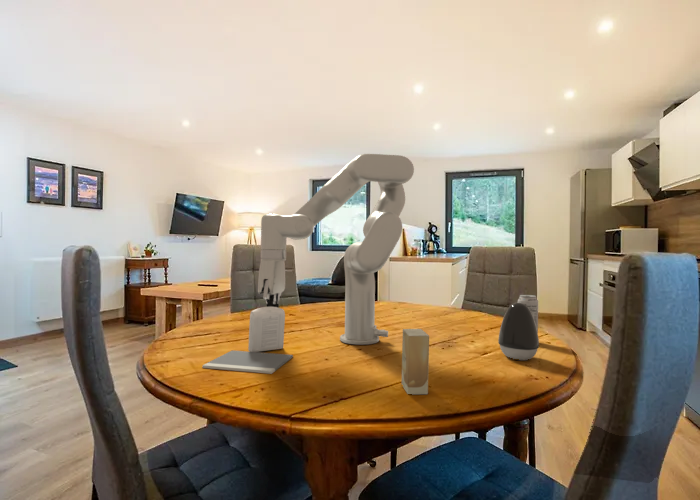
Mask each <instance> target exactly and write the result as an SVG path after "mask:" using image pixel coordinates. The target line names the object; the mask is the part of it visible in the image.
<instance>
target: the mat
mask: <svg viewBox="0 0 700 500" xmlns="http://www.w3.org/2000/svg"><path fill="white" fill-rule="evenodd" d="M293 358H294V355H293V354H286V353H271V352H261V351H260V352H250V351H244V350H230V351H228V352H226V353H224V354H222V355H220V356H218V357H216V358H214V359H212V360H210V361H208V362H206V363H204V364H202V369H211V370H223V371H224V370H225V371H226V370H227V371H236V372H248V373H261V374H269V375H270V374H271V375H272V374H274V372H276V371H277V370H279V369H280V368H281V367H282V366H283V365H285V364H286V363H288V361H290V360H291V359H293Z"/></svg>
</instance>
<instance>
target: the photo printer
mask: <svg viewBox="0 0 700 500" xmlns="http://www.w3.org/2000/svg"><path fill="white" fill-rule="evenodd" d="M285 319H286V313H285V310H284V309H283V308H280V307H279V308H278V307H267V306H263V307H258V308H256V309H253V310H251V311H250V314H249V326H248V327H249V330H248V331H249V332H248V346H247V347H248V348H247V349H248V352H260V353H261V352H266V351H274V350H280V349H281V350H282V349H283V348H284V341H285V323H286V322H285V321H286V320H285Z"/></svg>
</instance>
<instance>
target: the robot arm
mask: <svg viewBox="0 0 700 500" xmlns="http://www.w3.org/2000/svg"><path fill="white" fill-rule="evenodd" d="M414 167H415V166H414V164H413V162H412V161H411V160H410V159H409V157H407V156H405V155H404V156H403V155H399V154H398V155H397V154H381V153H379V154H378V153H363V154H359V155H357V156H356V157H354V158H352V160H351V161H349V162H348V163H347V164H346V165H345V166H344V167H343V168H342V169H340V170H339V172H337V173H336V174H334V176H333V177H331V179H329V180H328V181H327V182H326V183H324V185H322V187H320V189H319V190H317V191H316V193H315V194H314V195H313V196H312V197H311V198H310V199H309V200H308V201H307V202H306V203H304V205H302V206H301V207H300V208H299V209H298V210H297V211H296V212H295V213H294V214H291V215H283V214H277V213H273V214H272V213H269V214H268V213H267V214H263V216H261V221H260V224H261V225H260V227H261V228H260V229H261V230H260V263H259V269H258V279H257V293H258V294H259V295H263V296H262V298H263V300H265V303H266V307H278V308H280V307H279V303H280V297H281V296H282V293H283V292H284V291H285V290H286V265H285V261H287V238H290V239H291V240H294V241H298V240H299V241H301V240H305V239H307V238H309V237H310V236H311V235H313V232H314V227H315V226H316V225H318V224H319V223H320V222H321V221H323V219H325V218H326V217H328V216H329V215H331V214H333V213H334V212H336V211H338V210H339V209H340V208H342V207H343V205H345V204H346V202H348V200H350V199H351V198H352V197H353V196H354V195H355V194H356V193H358V191H359V190H361V189H362V188H363V187H364V186H365V185H366V184H367V183H369V182H375V183H378V187H379V189H380V195H379V198H378V200H377V202H376V205H375V207H374V208H373V209H372V210H371V212H370V214H369V216H368V217H367V219H366V220H365V222H364V224H363V228H362V232H363V236H364V239H362V240H363V241H356V242H353V243H352V244H350V245H349V246H348V247H347V248H346V249H345V251H344V255H343V256H344V257H343V266H344V267H343V268H344V277H345V278H344V279H345V283H344V284H345V287H344V288H345V292H344V293H345V294H344V295H345V296H344V309H345V310H344V333H343V334H341V335H340V336H339V341H340V342H342V343H345V344H350V345H357V346H358V345H360V346H361V345H362V346H363V345H372V344H377V343H379V341H380V337H383V338H387V337H389V330H386V329H378V328H377V325H375V320H376V319H375V317H376V315H375V310H376V309H375V308H376V307H375V305H376V301H375V300H376V295H375V294H376V280H375V273H376V272H378V271H380V270H381V269H382V268H383V267H384V266H385V264H386V263H387V261H388V260H389V258H390V256H391V254H392V252H393V251H394V249H395V247H396V245H397V244H398V242H399V240H400V238H401V237H402V232H403V222H402V219H401V218H400V215H401V213H402V211H403V209H404V207H405V204H406V192H405V189H404V184H406V183H407V182H409V181H411V179H412V177H413V176H414V172H415V168H414Z"/></svg>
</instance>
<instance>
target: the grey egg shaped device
mask: <svg viewBox="0 0 700 500" xmlns="http://www.w3.org/2000/svg"><path fill="white" fill-rule="evenodd" d="M505 311H506V312H505V314H504V315H503V318H502V321H501V326H500V328H499V332H498V341H497V343H498V344H499V348H500V350H501V352H502V354H503V355H505V356H506V357H507V358H509V357H510V358H509V359H511V358H513V359H512V360H514V359H519V360H518V361H528V359H529V360H531V359H532V358H534V357H535V356H536V354H537V352H538V349H539V348H540V340H539V332H538V333H537V328H536V324H535V321H534V318H533V315H532V313H531V311H530V310H529V308H528V307H527V305H526V304H523V303H518V302H514V303H511V304H510V305H509V306H508V308H507V309H506V310H505Z"/></svg>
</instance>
